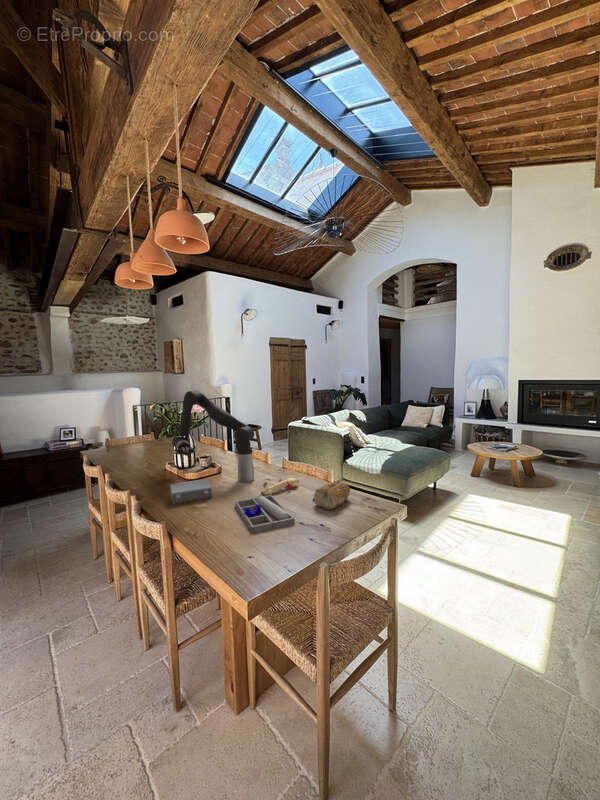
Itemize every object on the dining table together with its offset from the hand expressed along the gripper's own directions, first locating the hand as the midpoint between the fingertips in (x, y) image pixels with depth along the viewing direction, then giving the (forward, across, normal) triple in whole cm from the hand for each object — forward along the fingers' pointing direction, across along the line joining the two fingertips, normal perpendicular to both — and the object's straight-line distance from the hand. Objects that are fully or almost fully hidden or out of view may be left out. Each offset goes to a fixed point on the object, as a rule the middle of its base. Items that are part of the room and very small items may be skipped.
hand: (186, 453), depth 195 cm
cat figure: (+25, +48, +21) cm, 58 cm away
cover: (+12, 0, +16) cm, 20 cm away
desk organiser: (+51, +28, +21) cm, 61 cm away
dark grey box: (+11, 0, +21) cm, 24 cm away
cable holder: (+51, +23, +21) cm, 60 cm away
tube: (+52, +33, +21) cm, 65 cm away
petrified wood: (+54, +65, +21) cm, 87 cm away
